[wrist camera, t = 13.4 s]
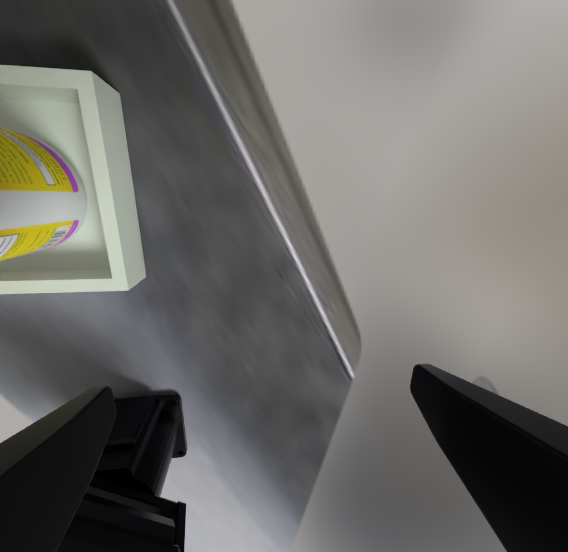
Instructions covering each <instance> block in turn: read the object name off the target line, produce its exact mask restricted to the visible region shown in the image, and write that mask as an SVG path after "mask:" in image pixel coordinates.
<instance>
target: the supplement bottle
mask: <svg viewBox="0 0 568 552" xmlns="http://www.w3.org/2000/svg"><path fill="white" fill-rule="evenodd" d="M86 212H87V197H86V192H85V188H84V185H83V183H82V181H81V179H80V176H79V175H78V173H77V172H76V170H75V169H74V167H73V166H72V165H71V164H70V163H69V161H68V160H67V159H66V158H65V157H64V156H63V155H61V154H60V153H59V152H58V151H56V150H55V149H54V148H52V147H51V146H49V145H47V144H46V143H44V142H42V141H40V140H38V139H36V138H33V137H30V136H27V135H24V134H21V133H17V132H14V131H10V130H7V129H3V128H0V261H2V260H6V259H9V258H13V257H17V256H21V255H24V254H28V253H32V252H36V251H39V250H43V249H47V248H50V247H53V246H56V245H59V244H61V243H63V242H65V241H67V240H69V239H70V238H71V237H73V236H74V235H75V234H76V233H77V232H78V230H79V229H80V228H81V226H82V224H83V222H84V220H85V217H86Z"/></svg>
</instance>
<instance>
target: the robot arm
mask: <svg viewBox="0 0 568 552" xmlns="http://www.w3.org/2000/svg"><path fill="white" fill-rule="evenodd" d="M410 390H411V393H412V395H413V398H414V399H415V401H416V403H417V405H418V407H419V409H420V411H421V413H422V415H423V417H424V419H425V420H426V422H427V424H428V426H429V428H430V430H431V432H432V434H433V436H434V437H435V439H436V441H437V443H438V444H439V446H440V448H441V449H442V451H443V452H444V454H445V456H446V457H447V459H448V460H449V462H450V463H451V465H452V466H453V468H454V470H455V471H456V473H457V474H458V476H459V477H460V479H461V481H462V482H463V484H464V485H465V487H466V488H467V490H468V492H469V493H470V495H471V496H472V498H473V499H474V501H475V502H476V504H477V506H478V507H479V509H480V510H481V512H482V513H483V515H484V517H485V518H486V520H487V521H488V523H489V524H490V526H491V528H492V529H493V531H494V532H495V534H496V535H497V537H498V538H499V540H500V542H501V543H502V545H503V546H504V548H505V549H506V551H507V552H568V426H566V425H564V424H561V423H559V422H557V421H555V420H553V419H550V418H548V417H546V416H544V415H541V414H539V413H537V412H535V411H532V410H530V409H528V408H526V407H524V406H521V405H519V404H517V403H515V402H512V401H510V400H508V399H506V398H504V397H501V396H499V395H497V394H495V393H492V392H490V391H488V390H486V389H484V388H481V387H479V386H477V385H475V384H472V383H470V382H468V381H466V380H463V379H461V378H459V377H457V376H455V375H452V374H450V373H448V372H445V371H443V370H441V369H439V368H437V367H434V366H432V365H430V364H418V365H415V367H414V368H413V373H412V379H411V385H410ZM173 401H176V402H173ZM186 452H187V442H186V434H185V426H184V418H183V410H182V402H181V397H180V396H178V395H165V396H152V397H139V398H126V399H114V397H113V392H112V389H111V388H110V387H108V386H103V387H93V388H91V389H89V390H87V391H86V392H84V393H83V394H81V395H79V396H78V397H76V398H74V399H73V400H71V401H69V402H68V403H66V404H64V405H63V406H61V407H59V408H58V409H56V410H54V411H53V412H51V413H49V414H48V415H46V416H45V417H43V418H41V419H40V420H38V421H36V422H35V423H33V424H31V425H30V426H28V427H26V428H25V429H23V430H22V431H20V432H18V433H16V434H15V435H13V436H11V437H10V438H8V439H7V440H5V441H3V442H2V443H0V552H184V541H185V517H186V504H185V503H182V502H179V501H178V503H177V502H174V501H171V500H168V499H165V498H162V497H160V495H161V492H162V488H163V485H164V482H165V478H166V475H167V472H168V468H169V465H170V461H171V458H177V457H183V456H185V455H186Z"/></svg>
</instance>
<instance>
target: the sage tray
mask: <svg viewBox="0 0 568 552" xmlns="http://www.w3.org/2000/svg"><path fill="white" fill-rule="evenodd" d="M0 128H3V129H7V130H10V131H14V132H17V133H21V134H24V135H27V136H30V137H33V138H36V139H38V140H40V141H42V142H44V143H46V144H47V145H49V146H51V147H52V148H54V149H55V150H56V151H58V152H59V153H60V154H61V155H63V156H64V157H65V158H66V159H67V160H68V161H69V163H70V164H71V165H72V166H73V167H74V169H75V170H76V172H77V173H78V175H79V176H80V179H81V181H82V183H83V185H84V188H85V192H86V197H87V212H86V217H85V220H84V222H83V224H82V226H81V228H80V229H79V230H78V232H77V233H76V234H75V235H74V236H73V237H71V238H70V239H69V240H67V241H65V242H63V243H61V244H59V245H56V246H53V247H50V248H47V249H43V250H39V251H36V252H32V253H28V254H24V255H21V256H17V257H13V258H9V259H6V260H2V261H0V294H26V293H60V292H95V291H128V290H130V289H131V288H132V287H134V286H135V285H136V284H137V283H139V282H140V281H141V280H143V279H144V278H145V277H146V271H145V264H144V257H143V250H142V243H141V236H140V230H139V223H138V216H137V209H136V202H135V195H134V188H133V182H132V175H131V168H130V161H129V154H128V147H127V140H126V133H125V127H124V120H123V113H122V106H121V99H120V94H119V93H118V92H117V91H116V90H114V89H113V88H112V87H111V86H109V85H108V84H107V83H106V82H104V81H103V80H102V79H101V78H99V77H98V76H97V75H96V74H94V73H93V72H92V71H84V70H70V69H55V68H41V67H26V66H12V65H0Z"/></svg>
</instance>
